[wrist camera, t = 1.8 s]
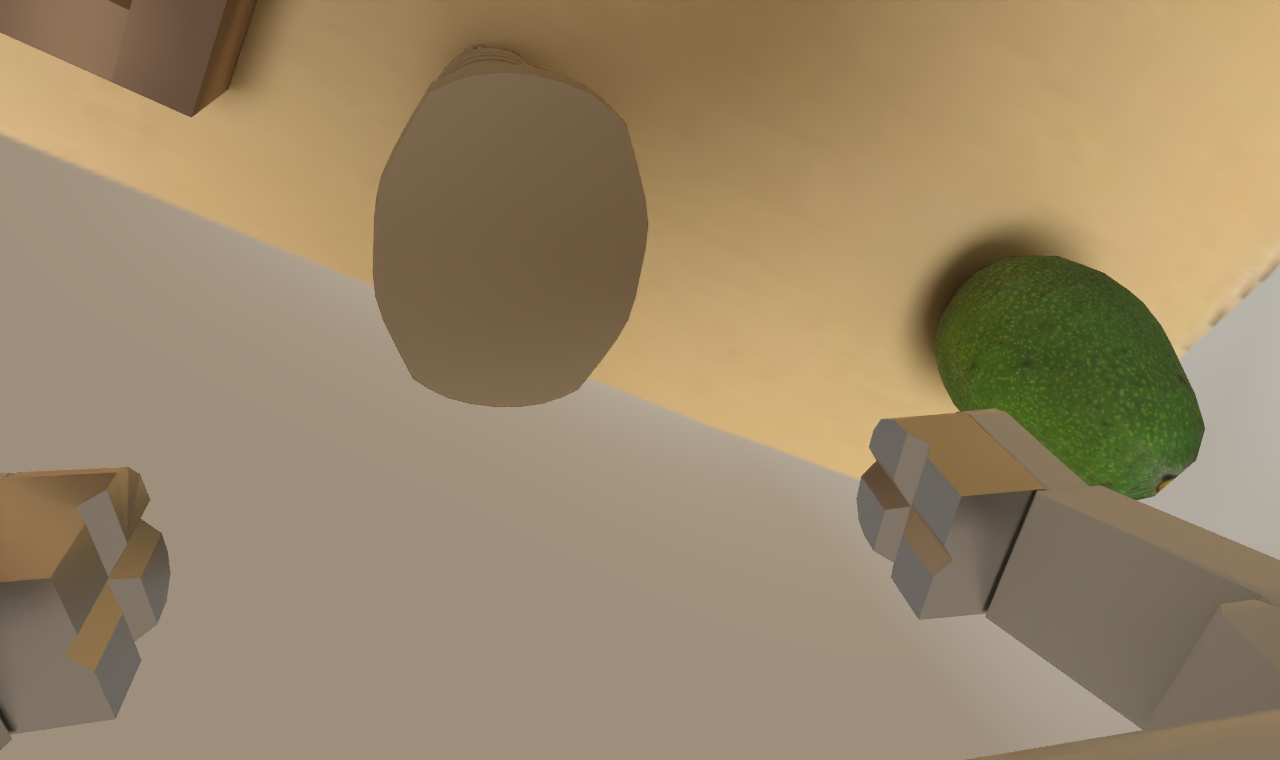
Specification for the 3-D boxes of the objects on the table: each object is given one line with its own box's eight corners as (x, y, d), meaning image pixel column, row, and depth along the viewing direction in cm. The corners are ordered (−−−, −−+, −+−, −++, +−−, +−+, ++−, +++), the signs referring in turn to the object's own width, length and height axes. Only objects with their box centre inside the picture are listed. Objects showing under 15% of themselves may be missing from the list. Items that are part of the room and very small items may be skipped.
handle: (412, 174, 27) (369, 400, 15) (422, -25, 24) (378, 48, 12) (546, 192, 29) (611, 413, 16) (572, 5, 25) (676, 100, 13)
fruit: (1089, 234, 34) (1346, 368, 24) (1017, 383, 38) (1212, 552, 28) (935, 216, 32) (1146, 354, 22) (875, 376, 36) (1032, 554, 26)
